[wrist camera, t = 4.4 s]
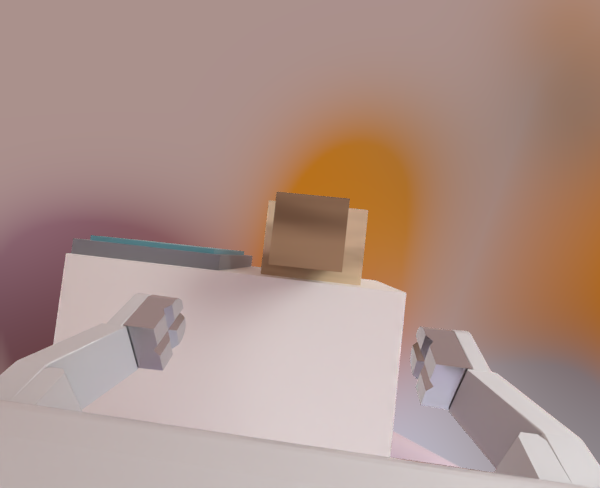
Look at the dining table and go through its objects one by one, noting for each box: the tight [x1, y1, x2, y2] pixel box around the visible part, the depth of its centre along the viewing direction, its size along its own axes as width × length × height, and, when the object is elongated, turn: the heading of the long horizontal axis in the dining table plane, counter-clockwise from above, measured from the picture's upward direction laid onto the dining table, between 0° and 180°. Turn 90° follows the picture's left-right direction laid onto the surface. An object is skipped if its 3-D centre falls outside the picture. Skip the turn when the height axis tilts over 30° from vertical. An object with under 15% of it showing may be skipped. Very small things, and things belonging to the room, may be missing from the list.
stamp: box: [261, 192, 368, 285], centre depth 23 cm, size 18×8×6 cm, turn 176°
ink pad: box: [71, 235, 252, 271], centre depth 29 cm, size 12×11×2 cm
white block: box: [53, 253, 406, 457], centre depth 28 cm, size 26×12×24 cm, turn 86°
